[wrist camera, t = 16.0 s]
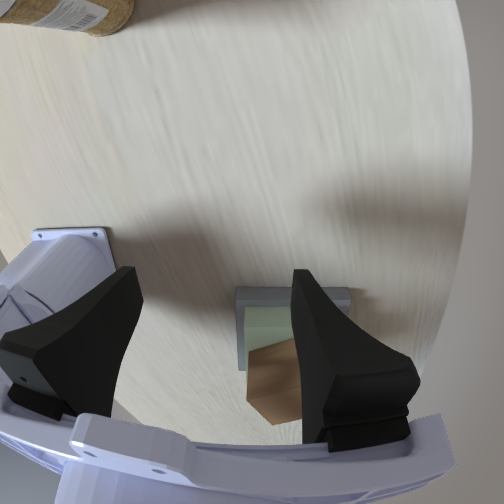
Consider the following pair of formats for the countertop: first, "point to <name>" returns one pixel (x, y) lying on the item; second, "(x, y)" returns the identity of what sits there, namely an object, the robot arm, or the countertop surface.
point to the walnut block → (275, 382)
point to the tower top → (266, 327)
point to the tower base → (275, 299)
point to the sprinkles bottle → (69, 14)
